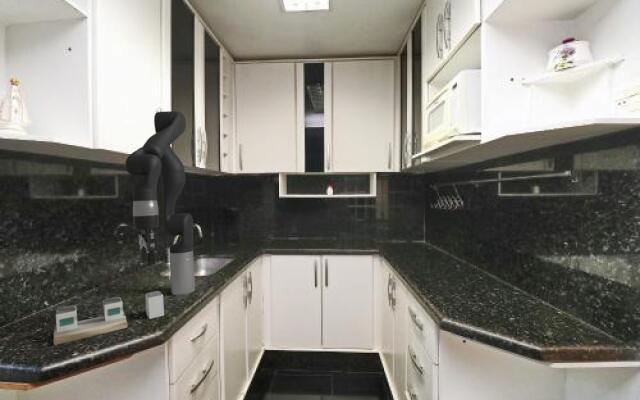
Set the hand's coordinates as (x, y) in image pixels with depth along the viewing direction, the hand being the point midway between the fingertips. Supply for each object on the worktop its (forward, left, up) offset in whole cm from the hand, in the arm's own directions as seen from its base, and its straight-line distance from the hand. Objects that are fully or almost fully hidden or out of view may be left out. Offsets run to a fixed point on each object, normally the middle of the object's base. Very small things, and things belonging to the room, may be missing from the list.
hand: (148, 262), depth 111 cm
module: (-2, +2, -19) cm, 19 cm away
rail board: (-2, -16, -19) cm, 25 cm away
